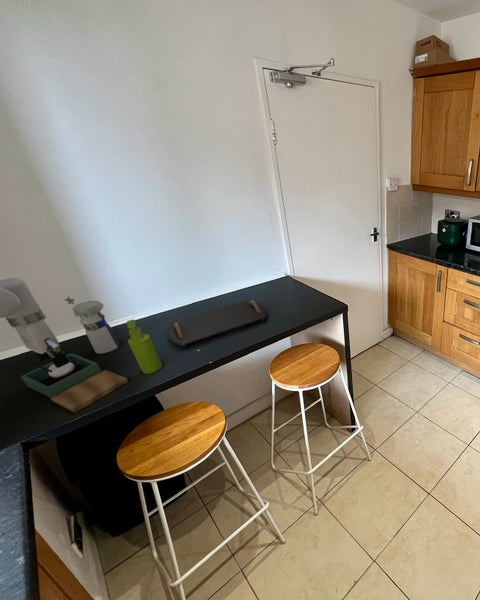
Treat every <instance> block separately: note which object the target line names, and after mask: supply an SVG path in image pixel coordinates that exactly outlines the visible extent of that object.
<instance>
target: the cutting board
mask: <svg viewBox="0 0 480 600" xmlns="http://www.w3.org/2000/svg"><path fill="white" fill-rule="evenodd" d="M101 371H102V372H100V373H98V374H96V375H94V376H92V377H91V378H89V379H87V380H85V381H83V382H81V383H79V384H77V385H75V386H73V387H72V388H70V389H68V390H66V391H64V392H62V393H60V394H58V395H56V396H54V397H53V398H50V400H51V402H52V403H53V404H55V405H58V406H59V407H62V408H64V409H66V410H68V411H70V412H72V413H74V414H76V413H78V412H79V411H80V410H82V409H85V408H86V407H87V406H89V405H91V404H92V403H94V402H95V401H98V400H99V399H101V398H103V397H104V396H107V394H110V393H111V392H113V391H114V390H116V389H119V388H121V386H124V385H125V384H127V383H128V382H129V380H128V378H127V377H125V376H122V375H119V374H117V373H115V372H112V371H110V370H107V369H104V370H101Z"/></svg>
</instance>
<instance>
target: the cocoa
mask: <svg viewBox="0 0 480 600" xmlns="http://www.w3.org/2000/svg"><path fill="white" fill-rule="evenodd" d="M27 362H28V363H30V364H32V365H34V366H36V367H38V368H40V367H41V368H43V369H45V370H47V371H48V373H49V375H50V376H51V377H50V378H51V379H52V380H54V381H56V382H58V381H60V380H62V379H64V378H66V377H68V376H70V375H72V374H74V373H76V372H78V371H80V370H81V369H82V367H81V365H80V364H76V365H74V364H73V363H70V362H69V363H68V364H66V365H64V366H62V367H59V368H57V367H56V366H55V365H54V364H53V365H51V366H50V367H49V369H47V368H45V367H43V366H44V365H41V364H39V363H37V362H36V361H33V360H31V359H27ZM78 365H79V366H78ZM77 367H78V368H77Z"/></svg>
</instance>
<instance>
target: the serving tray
mask: <svg viewBox="0 0 480 600" xmlns="http://www.w3.org/2000/svg"><path fill="white" fill-rule="evenodd" d="M266 318H267V310H266V307H264V306H263V304H261V303H259V302H257V301H254V300H244V301H240V302H237V303H233V304H229V305H227V306H224V307H219V308H217V309H213V310H209V311H206V312H203V313H199V314H195V315H193V316H189V317H185V318H182V319H178V320H176V321H173V322H172V323H171V324H170V325H169V327H168V330H167V332H168V333H167V338H168V339H169V340H170V341H171V342H172V343H173V344H174V343H175V344H176V345H178V346H181V348H183V349H187V348H188V347H189V345H190V344H192V343H195V342H198V341H202V340H204V339H207V338H211V337H213V336H216V335H219V334H223V333H226V332H228V331H231V330H234V329H237V328H241V327H244V326H246V325H248V324H252V323H256V322H258V321H260V322H261V323H264V322H265V321H266Z"/></svg>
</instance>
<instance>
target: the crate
mask: <svg viewBox="0 0 480 600" xmlns="http://www.w3.org/2000/svg"><path fill="white" fill-rule="evenodd" d="M65 356H66V357H67V359H68V361H69V362H70V363H73V364H74V366H75V365H76V364H80V365H81V369H80V370H79V371H78V372H76V373H74V374H72V375H70V376H68V377H66V378H64V379H62V380H60V381H58V382H57V381H56V382H54V383H52V384H50V385H46V384H44V383H41V382H43V381H45V380H47V379H49V378H51V376H50V375H49V373H48V371H47V370H45V369H43V368H41V367H38V368H36V369H33V370H32V371H29V372H27V373H25V374H22V375H21V376H20V378H21V379H22V380H23V382H24V384H25V385H26V387H28V388H30V389H32V390H33V391H35V392H38V393H39V394H41V395H44V396H46V397H48V398H50V399H51V398H53V397H54V396H56V395H58V394H60V393H62V392H64V391H66V390H68V389H70V388H72V387H73V386H75V385H77V384H79V383H81V382H83V381H85V380H87V379H89V378H91V377H92V376H94V375H96V374H98V373H100V372H102V371H103V370H102V369H101V368H100V366H99V364H98V363H97V362H94V361H92V360H90V359H87V358H85V357H82V356H80V355H77V354H75V353H71V352H70V353H69V354H67V355H65ZM53 364H54V363H53V362H52V361H51V362H50V363H47V364H45V365H42V366H43V367H45V368H47V369H49V367H50V366H51V365H53ZM77 367H79V365H77Z"/></svg>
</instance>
